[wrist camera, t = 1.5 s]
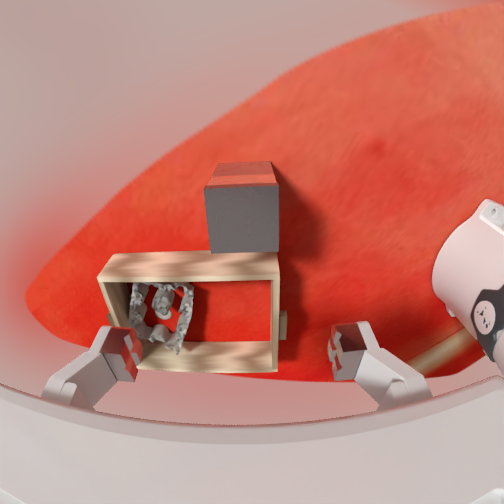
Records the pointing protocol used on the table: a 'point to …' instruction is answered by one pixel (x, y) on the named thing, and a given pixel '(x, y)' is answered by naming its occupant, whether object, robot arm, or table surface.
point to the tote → (196, 270)
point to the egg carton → (161, 312)
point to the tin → (243, 208)
